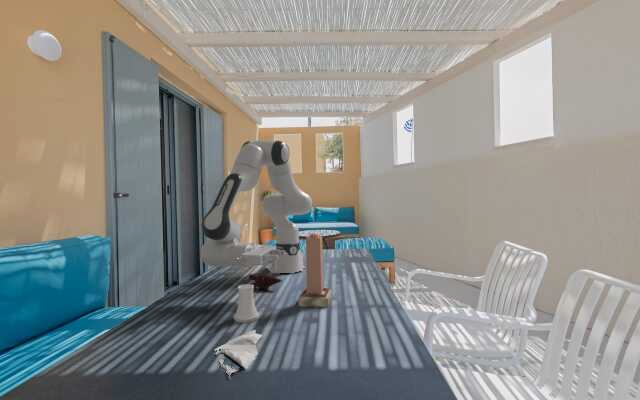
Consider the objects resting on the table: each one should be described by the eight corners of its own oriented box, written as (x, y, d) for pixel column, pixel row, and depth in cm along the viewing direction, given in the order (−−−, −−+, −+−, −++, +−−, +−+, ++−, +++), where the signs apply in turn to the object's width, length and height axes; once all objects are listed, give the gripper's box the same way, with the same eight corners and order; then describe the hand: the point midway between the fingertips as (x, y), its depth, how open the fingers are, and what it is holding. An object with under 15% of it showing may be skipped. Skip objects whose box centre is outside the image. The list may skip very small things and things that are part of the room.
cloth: (238, 331, 98) (238, 323, 98) (283, 334, 95) (283, 326, 95) (183, 379, 73) (182, 368, 73) (242, 385, 70) (242, 374, 70)
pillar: (307, 295, 119) (305, 235, 119) (309, 291, 124) (308, 233, 124) (321, 295, 118) (320, 234, 118) (323, 291, 123) (322, 233, 123)
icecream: (285, 272, 141) (253, 273, 146) (277, 271, 134) (244, 272, 139) (285, 289, 139) (253, 290, 144) (277, 289, 133) (243, 290, 137)
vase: (253, 323, 102) (252, 289, 102) (229, 321, 104) (229, 289, 103) (262, 314, 109) (261, 283, 109) (240, 313, 111) (239, 282, 111)
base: (298, 305, 117) (298, 294, 117) (304, 297, 127) (304, 286, 127) (327, 306, 116) (327, 295, 116) (331, 297, 125) (331, 287, 125)
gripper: (233, 250, 115) (272, 251, 112) (253, 242, 135) (288, 242, 133) (233, 269, 115) (273, 270, 113) (254, 258, 135) (288, 258, 133)
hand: (281, 255), depth 123 cm, fingers open, 8 cm apart
